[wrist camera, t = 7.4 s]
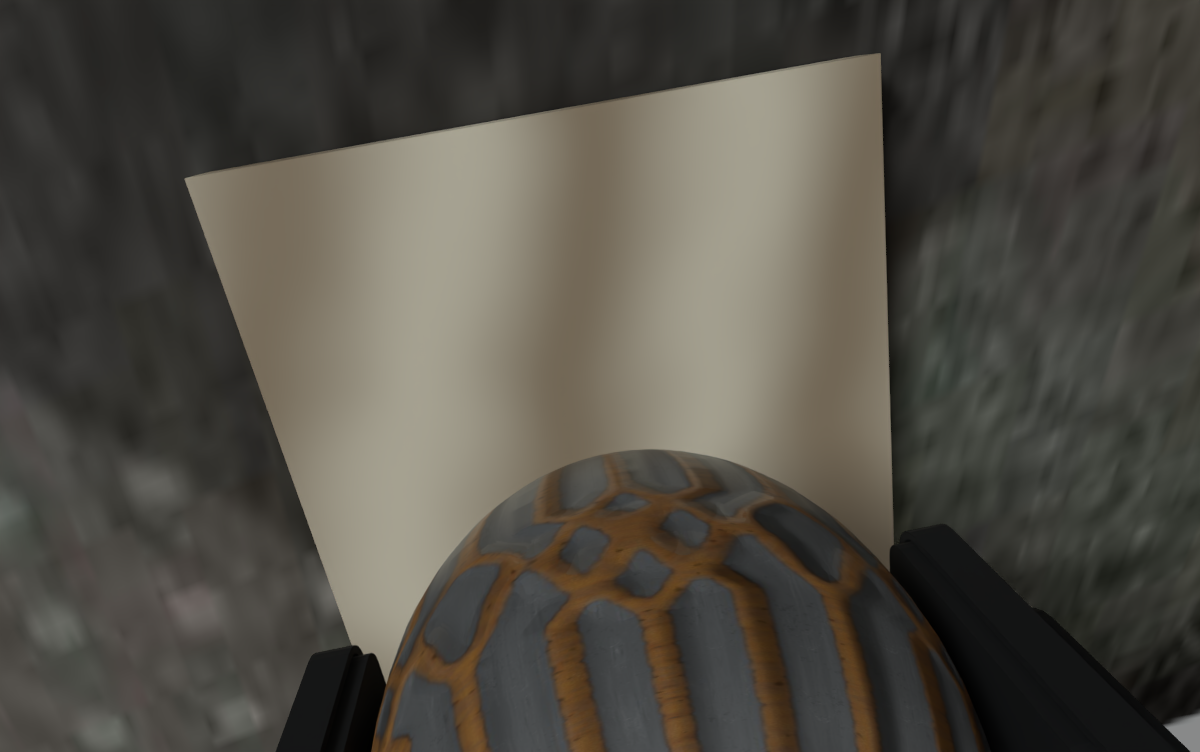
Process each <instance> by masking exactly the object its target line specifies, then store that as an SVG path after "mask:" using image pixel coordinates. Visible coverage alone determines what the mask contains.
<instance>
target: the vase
mask: <svg viewBox="0 0 1200 752" xmlns="http://www.w3.org/2000/svg"><path fill="white" fill-rule="evenodd" d="M371 752H991V750H990V747H989V744H988V741H987V738H986V735H985V732H984V730H983V727H982V725H981V723H980V720H979V718H978V715H977V713H976V711H975V708H974V706H973V704H972V701H971V699H970V696H969V694H968V692H967V689H966V687H965V685H964V682H963V680H962V679H961V677H960V675H959V673H958V671H957V669H956V667H955V665H954V664H953V662H952V660H951V658H950V656H949V654H948V652H947V651H946V649H945V647H944V645H943V644H942V642H941V640H940V638H939V637H938V635H937V634H936V632H935V631H934V629H933V628H932V627H931V625H930V624H929V622H928V621H927V620H926V618H925V617H924V615H923V614H922V612H921V611H920V610H919V608H918V607H917V605H916V604H915V603H914V601H913V600H912V598H911V597H910V596H909V594H908V593H907V592H906V591H905V590H904V588H903V587H902V586H901V585H900V584H899V583H898V581H897V580H896V579H895V578H894V577H893V575H892V574H891V573H890V572H889V571H888V570H887V568H886V567H885V566H884V565H883V564H882V563H881V562H880V560H879V559H878V558H877V557H876V556H875V555H874V554H873V553H872V552H871V551H870V550H869V549H868V548H867V547H866V546H865V545H864V544H863V543H862V542H861V541H860V540H859V539H858V538H857V537H856V536H855V535H854V534H853V533H852V532H851V531H850V530H848V529H847V528H846V527H845V526H844V525H843V524H842V523H841V522H840V521H838V520H837V519H836V518H835V517H833V516H832V515H831V514H829V513H828V512H827V511H825V510H824V509H822V508H821V507H819V506H818V505H816V504H815V503H813V502H812V501H810V500H809V499H807V498H806V497H804V496H803V495H801V494H800V493H798V492H797V491H795V490H794V489H792V488H790V487H788V486H786V485H784V484H783V483H781V482H779V481H777V480H775V479H773V478H770V477H768V476H766V475H764V474H762V473H759V472H757V471H755V470H752V469H750V468H748V467H745V466H743V465H740V464H737V463H734V462H731V461H728V460H724V459H720V458H716V457H712V456H708V455H702V454H696V453H690V452H684V451H675V450H662V449H643V450H628V451H620V452H613V453H608V454H603V455H598V456H594V457H591V458H587V459H583V460H580V461H577V462H574V463H572V464H569V465H566V466H564V467H561V468H559V469H557V470H554V471H552V472H550V473H548V474H546V475H544V476H542V477H540V478H538V479H536V480H535V481H533V482H531V483H530V484H528V485H526V486H525V487H523V488H522V489H520V490H519V491H517V492H516V493H514V494H513V495H512V496H510V497H509V498H507V499H506V500H505V501H503V502H502V503H500V504H499V505H498V506H497V507H495V508H494V509H493V510H492V511H491V512H489V513H488V514H487V515H486V516H485V517H484V518H483V519H482V520H481V521H480V522H479V523H478V524H477V525H476V526H475V527H473V528H472V530H471V531H470V532H469V533H468V534H467V535H466V536H465V538H464V539H463V540H462V541H461V542H460V543H459V545H458V546H457V547H456V548H455V549H454V551H453V552H452V553H451V554H450V555H449V557H448V558H447V559H446V561H445V562H444V563H443V565H442V566H441V567H440V569H439V570H438V572H437V573H436V575H435V576H434V578H433V580H432V581H431V583H430V585H429V586H428V588H427V590H426V591H425V593H424V595H423V597H422V598H421V600H420V602H419V603H418V605H417V607H416V608H415V610H414V612H413V614H412V616H411V619H410V621H409V623H408V625H407V627H406V629H405V632H404V635H403V637H402V640H401V643H400V645H399V648H398V651H397V654H396V656H395V659H394V662H393V665H392V668H391V670H390V674H389V677H388V681H387V684H386V688H385V692H384V696H383V699H382V703H381V707H380V711H379V714H378V718H377V722H376V728H375V734H374V739H373V745H372V751H371Z"/></svg>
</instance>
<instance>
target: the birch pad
mask: <svg viewBox="0 0 1200 752" xmlns="http://www.w3.org/2000/svg"><path fill="white" fill-rule="evenodd" d="M185 181H186V184H187V187H188V190H189V192H190V195H191V198H192V201H193V203H194V206H195V209H196V212H197V215H198V217H199V220H200V223H201V226H202V229H203V231H204V234H205V237H206V240H207V243H208V245H209V248H210V251H211V254H212V256H213V259H214V262H215V265H216V268H217V270H218V273H219V276H220V279H221V282H222V284H223V287H224V290H225V293H226V295H227V298H228V301H229V304H230V307H231V309H232V312H233V315H234V318H235V321H236V323H237V326H238V329H239V332H240V335H241V337H242V340H243V343H244V346H245V348H246V351H247V354H248V357H249V360H250V362H251V365H252V368H253V371H254V374H255V376H256V379H257V382H258V385H259V387H260V390H261V393H262V396H263V399H264V401H265V404H266V407H267V410H268V413H269V415H270V418H271V421H272V424H273V427H274V429H275V432H276V435H277V438H278V440H279V443H280V446H281V449H282V452H283V454H284V457H285V460H286V463H287V466H288V468H289V471H290V474H291V477H292V479H293V482H294V485H295V488H296V491H297V493H298V496H299V499H300V502H301V505H302V507H303V510H304V513H305V516H306V519H307V521H308V524H309V527H310V530H311V532H312V535H313V538H314V541H315V544H316V546H317V549H318V552H319V555H320V558H321V560H322V563H323V566H324V569H325V571H326V574H327V577H328V580H329V583H330V585H331V588H332V591H333V594H334V597H335V599H336V602H337V605H338V608H339V611H340V613H341V616H342V619H343V622H344V624H345V627H346V630H347V633H348V636H349V638H350V641H351V644H352V645H357V646H359V648H360V649H361V650H362V652H363V655H364V654H368V653H374V654H375V655H376V657H377V659H378V662H379V664H380V667H381V670H382V673H383V676H384V679H385V682H386V684H387V681H388V677H389V674H390V670H391V668H392V665H393V662H394V659H395V656H396V654H397V651H398V648H399V645H400V643H401V640H402V637H403V635H404V632H405V629H406V627H407V625H408V623H409V621H410V619H411V616H412V614H413V612H414V610H415V608H416V607H417V605H418V603H419V602H420V600H421V598H422V597H423V595H424V593H425V591H426V590H427V588H428V586H429V585H430V583H431V581H432V580H433V578H434V576H435V575H436V573H437V572H438V570H439V569H440V567H441V566H442V565H443V563H444V562H445V561H446V559H447V558H448V557H449V555H450V554H451V553H452V552H453V551H454V549H455V548H456V547H457V546H458V545H459V543H460V542H461V541H462V540H463V539H464V538H465V536H466V535H467V534H468V533H469V532H470V531H471V530H472V528H473V527H475V526H476V525H477V524H478V523H479V522H480V521H481V520H482V519H483V518H484V517H485V516H486V515H487V514H488V513H489V512H491V511H492V510H493V509H494V508H495V507H497V506H498V505H499V504H500V503H502V502H503V501H505V500H506V499H507V498H509V497H510V496H512V495H513V494H514V493H516V492H517V491H519V490H520V489H522V488H523V487H525V486H526V485H528V484H530V483H531V482H533V481H535V480H536V479H538V478H540V477H542V476H544V475H546V474H548V473H550V472H552V471H554V470H557V469H559V468H561V467H564V466H566V465H569V464H572V463H574V462H577V461H580V460H583V459H587V458H591V457H594V456H598V455H603V454H608V453H613V452H620V451H628V450H643V449H662V450H675V451H684V452H690V453H696V454H702V455H708V456H712V457H716V458H720V459H724V460H728V461H731V462H734V463H737V464H740V465H743V466H745V467H748V468H750V469H752V470H755V471H757V472H759V473H762V474H764V475H766V476H768V477H770V478H773V479H775V480H777V481H779V482H781V483H783V484H784V485H786V486H788V487H790V488H792V489H794V490H795V491H797V492H798V493H800V494H801V495H803V496H804V497H806V498H807V499H809V500H810V501H812V502H813V503H815V504H816V505H818V506H819V507H821V508H822V509H824V510H825V511H827V512H828V513H829V514H831V515H832V516H833V517H835V518H836V519H837V520H838V521H840V522H841V523H842V524H843V525H844V526H845V527H846V528H847V529H848V530H850V531H851V532H852V533H853V534H854V535H855V536H856V537H857V538H858V539H859V540H860V541H861V542H862V543H863V544H864V545H865V546H866V547H867V548H868V549H869V550H870V551H871V552H872V553H873V554H874V555H875V556H876V557H877V558H878V559H879V560H880V562H881V563H882V564H883V565H884V566H885V567H886V568H887V570H888V571H889V572H890V559H889V553H890V548H891V546H892V545H894V530H893V493H892V456H891V420H890V383H889V347H888V310H887V273H886V237H885V200H884V164H883V127H882V90H881V54H880V53H878V54H869V55H859V56H852V57H846V58H841V59H835V60H830V61H824V62H819V63H813V64H807V65H802V66H796V67H791V68H785V69H780V70H774V71H769V72H763V73H757V74H752V75H746V76H741V77H735V78H730V79H724V80H718V81H713V82H707V83H702V84H696V85H691V86H685V87H680V88H674V89H668V90H663V91H657V92H652V93H646V94H641V95H635V96H629V97H624V98H618V99H613V100H607V101H602V102H596V103H591V104H585V105H579V106H574V107H568V108H563V109H557V110H552V111H546V112H541V113H535V114H529V115H524V116H518V117H513V118H507V119H502V120H496V121H490V122H485V123H479V124H474V125H468V126H463V127H457V128H452V129H446V130H440V131H435V132H429V133H424V134H418V135H413V136H407V137H401V138H396V139H390V140H385V141H379V142H374V143H368V144H363V145H357V146H351V147H346V148H340V149H335V150H329V151H324V152H318V153H312V154H307V155H301V156H296V157H290V158H285V159H279V160H274V161H268V162H262V163H257V164H251V165H246V166H240V167H235V168H229V169H223V170H218V171H212V172H207V173H203V174H200V175H196V176H192V177H188V178H185Z"/></svg>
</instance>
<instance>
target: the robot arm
mask: <svg viewBox="0 0 1200 752" xmlns="http://www.w3.org/2000/svg"><path fill="white" fill-rule="evenodd" d="M889 559H890V573H891V574H892V575H893V577H894V578H895V579H896V580H897V581H898V583H899V584H900V585H901V586H902V587H903V588H904V590H905V591H906V592H907V593H908V594H909V596H910V597H911V598H912V600H913V601H914V603H915V604H916V605H917V607H918V608H919V610H920V611H921V612H922V614H923V615H924V617H925V618H926V620H927V621H928V622H929V624H930V625H931V627H932V628H933V629H934V631H935V632H936V634H937V635H938V637H939V638H940V640H941V642H942V644H943V645H944V647H945V649H946V651H947V652H948V654H949V656H950V658H951V660H952V662H953V664H954V665H955V667H956V669H957V671H958V673H959V675H960V677H961V679H962V680H963V682H964V685H965V687H966V689H967V692H968V694H969V696H970V699H971V701H972V704H973V706H974V708H975V711H976V713H977V715H978V718H979V720H980V723H981V725H982V727H983V730H984V732H985V735H986V738H987V741H988V744H989V747H990V750H991V752H1190V751H1189V750H1188V749H1187V748H1186V747H1185V746H1184V745H1183V744H1182V743H1181V742H1180V741H1179V740H1178V739H1177V738H1176V737H1175V736H1174V735H1172V733H1170V731H1168V730H1167V729H1166V728H1165V727H1164V726H1163V725H1162V724H1161V723H1160V722H1159V721H1158V720H1157V719H1156V718H1155V717H1154V716H1153V715H1152V714H1151V713H1150V712H1149V711H1148V710H1147V709H1146V708H1145V707H1144V706H1143V705H1142V704H1141V703H1140V702H1139V701H1138V700H1137V699H1136V698H1134V697H1133V696H1132V695H1131V694H1130V693H1129V692H1128V691H1127V690H1126V689H1125V688H1124V687H1123V686H1122V685H1121V684H1120V683H1119V682H1118V681H1117V680H1116V679H1115V678H1114V677H1113V676H1112V675H1111V674H1110V673H1109V672H1108V671H1107V670H1106V669H1105V668H1104V667H1103V666H1102V665H1101V664H1099V663H1098V662H1097V661H1096V660H1095V659H1094V658H1093V657H1092V656H1091V655H1090V654H1089V653H1088V652H1087V651H1086V650H1085V649H1084V648H1083V647H1082V646H1081V645H1080V644H1079V643H1078V642H1077V641H1076V640H1075V639H1074V638H1073V637H1072V636H1071V635H1070V634H1069V633H1068V632H1067V631H1065V630H1064V629H1063V628H1062V627H1061V626H1060V625H1059V624H1058V623H1057V622H1056V621H1055V620H1054V619H1053V618H1052V617H1051V616H1049V615H1048V614H1047V613H1045V612H1044V611H1042V610H1039V609H1036V608H1031V607H1030V606H1029V605H1028V604H1027V603H1026V602H1025V601H1024V600H1023V599H1022V598H1021V597H1020V596H1019V595H1018V594H1017V593H1016V592H1015V591H1014V590H1013V589H1012V588H1011V587H1010V586H1009V585H1008V584H1007V583H1006V582H1005V581H1004V580H1003V579H1002V578H1001V577H1000V576H999V575H998V574H997V573H996V572H995V571H994V570H993V569H992V568H991V567H990V566H989V565H988V564H987V563H986V562H985V561H984V560H983V559H982V558H981V557H980V556H979V555H978V554H977V553H976V552H975V551H974V550H973V549H972V548H971V547H970V546H969V545H968V544H967V543H966V542H965V541H964V540H963V539H962V538H961V537H960V536H959V535H958V534H957V533H956V532H955V531H954V530H953V529H951V528H950V527H949V526H947V525H945V524H939V525H934V526H929V527H924V528H920V529H915V530H910V531H905V532H903V533H902V534H901V537H900V544H895V545H892V546H891V548H890V553H889ZM385 688H386V682H385V679H384V676H383V673H382V670H381V667H380V664H379V662H378V659H377V657H376V655H375V654H374V653H368V654H364V655H363V652H362V650H361V649H360V648H359V646H357V645H352V646H347V647H342V648H338V649H333V650H328V651H323V652H318V653H315V654H313V655H312V656H311V658H310V660H309V662H308V665H307V668H306V670H305V673H304V676H303V679H302V681H301V684H300V687H299V690H298V692H297V695H296V698H295V700H294V703H293V706H292V709H291V711H290V714H289V717H288V720H287V722H286V725H285V728H284V731H283V733H282V736H281V739H280V742H279V744H278V747H277V750H276V752H371V751H372V745H373V739H374V734H375V728H376V722H377V718H378V714H379V711H380V707H381V703H382V699H383V696H384V692H385Z"/></svg>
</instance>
